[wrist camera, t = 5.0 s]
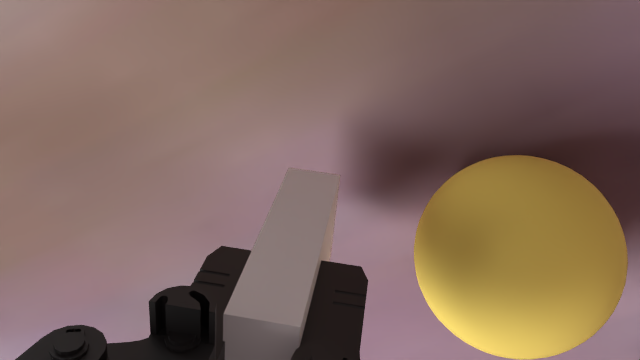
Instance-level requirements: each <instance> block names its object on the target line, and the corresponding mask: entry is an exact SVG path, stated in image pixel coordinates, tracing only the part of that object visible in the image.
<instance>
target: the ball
mask: <svg viewBox="0 0 640 360" xmlns="http://www.w3.org/2000/svg"><path fill="white" fill-rule="evenodd" d="M414 262H415V269H416V275H417V279H418V282H419V286H420V288H421V290H422V293H423V295H424V297H425V299H426V301H427V303H428V305H429V307H430V308H431V310H432V311H433V313H434V314H435V315H436V317H437V318H438V319H439V320H440V321H441V322H442V323H443V324H444V325H445V327H446V328H448V329H449V330H450V331H451V332H452V333H453V334H454V335H456V336H457V337H458V338H460V339H461V340H463V341H464V342H466V343H467V344H469V345H471V346H473V347H475V348H477V349H479V350H481V351H484V352H486V353H489V354H493V355H496V356H500V357H505V358H512V359H537V358H545V357H550V356H554V355H558V354H560V353H563V352H566V351H568V350H570V349H572V348H574V347H576V346H578V345H580V344H581V343H583V342H585V341H586V340H587V339H589V338H590V337H591V336H593V335H594V334H595V333H596V332H597V331H598V330H599V329H600V328H601V327H602V326H603V325H604V324H605V323H606V321H607V320H608V319H609V317H610V316H611V315H612V313H613V312H614V310H615V308H616V306H617V304H618V302H619V300H620V298H621V295H622V292H623V289H624V286H625V282H626V275H627V266H628V258H627V247H626V242H625V237H624V233H623V230H622V227H621V225H620V222H619V219H618V218H617V216H616V214H615V212H614V210H613V208H612V207H611V205H610V204H609V203H608V201H607V200H606V199H605V197H604V196H603V195H602V193H601V192H600V191H599V190H598V189H597V188H596V187H595V186H594V185H593V184H592V183H591V182H589V181H588V180H587V179H585V178H584V177H583V176H582V175H580V174H578V173H577V172H575V171H573V170H572V169H570V168H568V167H566V166H564V165H561V164H559V163H557V162H553V161H550V160H547V159H544V158H539V157H533V156H524V155H507V156H499V157H493V158H489V159H486V160H482V161H479V162H477V163H475V164H472V165H470V166H468V167H466V168H464V169H463V170H461V171H459V172H458V173H456V174H455V175H453V176H452V177H451V178H450V179H448V180H447V181H446V182H445V183H444V184H443V185H442V186H441V187H440V188H439V189H438V190H437V192H436V193H435V194H434V195H433V196H432V198H431V199H430V201H429V202H428V204H427V206H426V208H425V210H424V212H423V214H422V216H421V218H420V221H419V224H418V228H417V231H416V237H415V244H414Z"/></svg>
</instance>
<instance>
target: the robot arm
mask: <svg viewBox="0 0 640 360" xmlns="http://www.w3.org/2000/svg"><path fill="white" fill-rule="evenodd" d="M339 181H340V175H336V174H329V173H322V172H315V171H308V170H301V169H295V168H289V169H288V171H287V173H286V175H285V178H284V180H283V182H282V184H281V187H280V189H279V191H278V193H277V195H276V198H275V200H274V202H273V204H272V207H271V209H270V211H269V213H268V216H267V218H266V220H265V222H264V224H263V227H262V229H261V231H260V233H259V236H258V238H257V240H256V242H255V245H254V247H253V249H252V251H250V250H244V249H238V248H231V247H225V246H221V247H220V248H218V249H217V250H215V251H214V252H213V253H211V254H210V255H208V256H207V258H206V260H205V261H204V263H203V265H202V267H201V268H200V272H198V274H197V276H196V277H195V279H194V283H192V285H191V286H176V287H172V288H167V289H165V290H163V291H161V292H159V293H157V294H156V295H155V296H154V297H153V298H152V299H151V300H150V301H149V313H150V331H151V334H150V336H149V338H146V339H143V340H140V341H133V342H123V343H109V344H107V341H106V339H105V337H104V335H103V333H102V332H100V331H99V330H97V329H96V328H94V327H89V326H84V325H74V326H66V327H63V328H60V329H57V330H54V331H52V332H51V333H49V334H47V335H46V336H44V337H43V338H41V339H40V340H39V341H38V342H36V343H35V344H34V345H33V346H31V347H30V348H29V349H28V350H27V351H25V352H24V353H23V354H22V355H20V356H19V357H18V358H17V359H15V360H360V353H359V351H360V343H361V335H362V326H363V318H364V310H365V302H366V293H367V285H368V280H367V277H366V275H365V273H364V271H363V269H362V267H360V266H353V265H347V264H341V263H334V262H329V260H330V256H331V249H332V241H333V232H334V224H335V215H336V207H337V198H338V190H339Z"/></svg>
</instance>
